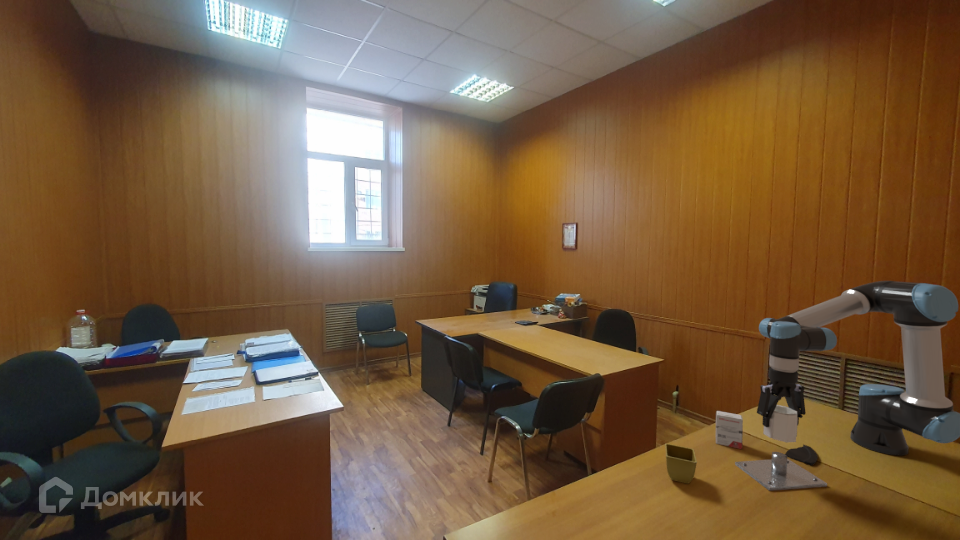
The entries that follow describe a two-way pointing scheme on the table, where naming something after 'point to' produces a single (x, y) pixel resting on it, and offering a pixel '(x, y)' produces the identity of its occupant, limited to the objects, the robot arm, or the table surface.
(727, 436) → the ink box
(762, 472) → the duct plate
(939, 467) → the table surface
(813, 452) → the curved wedge
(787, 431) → the octagonal hollow tube
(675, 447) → the flower pot
